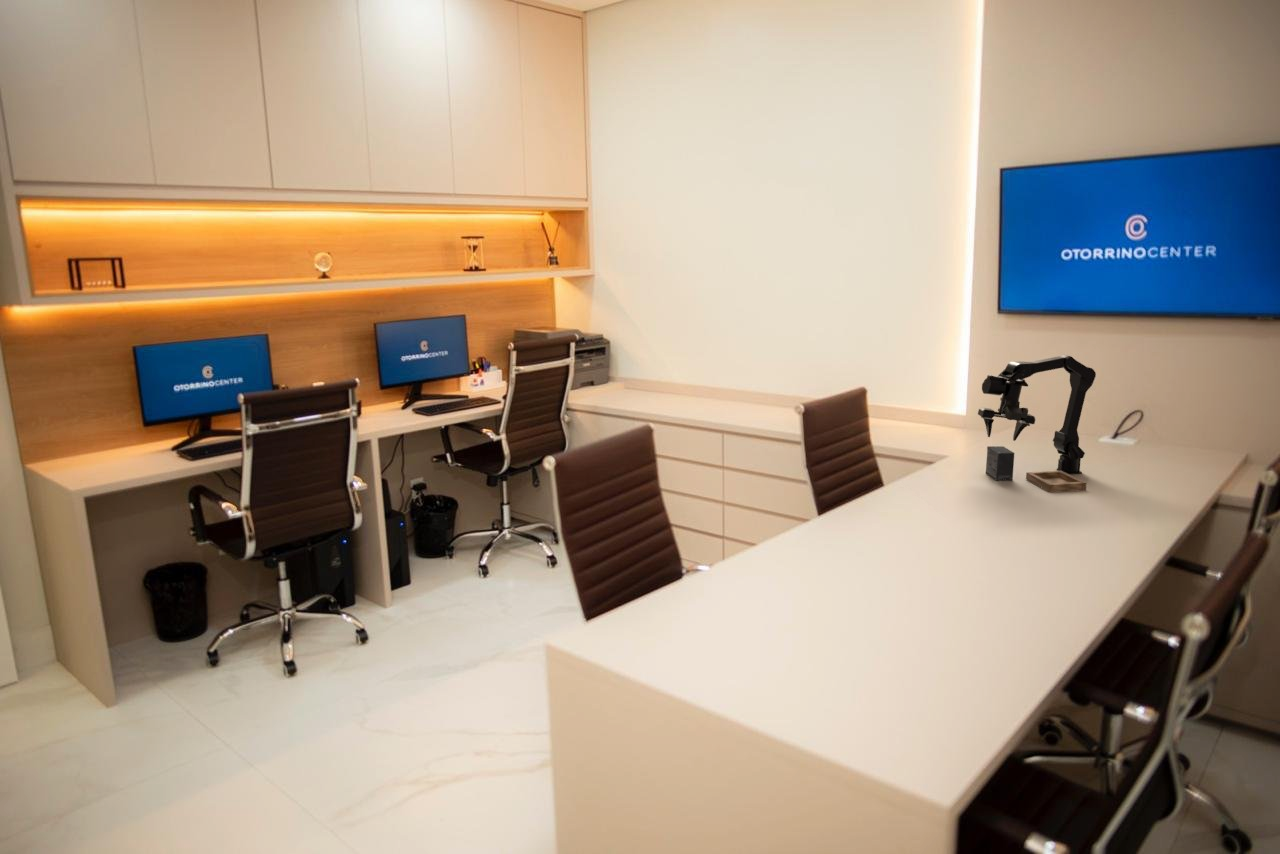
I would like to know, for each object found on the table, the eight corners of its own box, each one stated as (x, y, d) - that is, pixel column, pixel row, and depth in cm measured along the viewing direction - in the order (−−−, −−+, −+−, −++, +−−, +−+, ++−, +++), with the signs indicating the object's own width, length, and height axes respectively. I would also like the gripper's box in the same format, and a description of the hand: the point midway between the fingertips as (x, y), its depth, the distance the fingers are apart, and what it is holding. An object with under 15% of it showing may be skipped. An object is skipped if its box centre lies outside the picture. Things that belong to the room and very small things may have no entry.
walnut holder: (1060, 477, 309) (1061, 470, 309) (1085, 490, 294) (1086, 482, 293) (1025, 479, 309) (1026, 472, 308) (1049, 492, 293) (1049, 484, 293)
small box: (1014, 480, 308) (1015, 452, 306) (995, 481, 308) (997, 453, 306) (1002, 472, 318) (1004, 445, 316) (984, 473, 319) (986, 446, 316)
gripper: (992, 396, 300) (982, 439, 303) (1045, 404, 299) (1035, 447, 302) (982, 392, 310) (972, 433, 314) (1033, 399, 310) (1023, 440, 313)
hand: (1001, 438), depth 310 cm, fingers open, 9 cm apart
